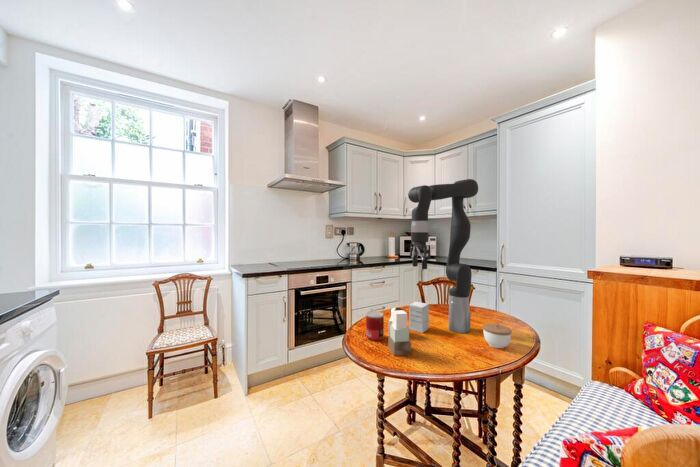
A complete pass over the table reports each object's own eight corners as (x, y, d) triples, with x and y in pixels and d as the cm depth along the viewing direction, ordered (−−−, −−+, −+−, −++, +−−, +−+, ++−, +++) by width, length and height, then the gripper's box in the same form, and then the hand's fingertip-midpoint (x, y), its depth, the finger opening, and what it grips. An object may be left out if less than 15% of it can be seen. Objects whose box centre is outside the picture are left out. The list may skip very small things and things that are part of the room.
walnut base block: (403, 346, 109) (403, 334, 109) (410, 354, 103) (410, 341, 102) (388, 347, 108) (388, 336, 108) (394, 355, 101) (394, 343, 101)
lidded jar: (503, 353, 103) (503, 330, 103) (477, 343, 112) (477, 322, 112) (516, 347, 109) (516, 325, 109) (491, 338, 118) (491, 318, 118)
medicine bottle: (405, 331, 125) (405, 307, 125) (403, 337, 118) (404, 311, 118) (391, 329, 127) (391, 305, 127) (388, 335, 120) (388, 310, 120)
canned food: (382, 341, 113) (383, 317, 113) (365, 340, 115) (365, 315, 115) (384, 335, 121) (384, 311, 121) (367, 333, 122) (367, 310, 122)
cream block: (402, 324, 108) (402, 310, 108) (407, 328, 104) (407, 313, 104) (392, 324, 107) (392, 310, 107) (396, 329, 103) (396, 314, 103)
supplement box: (415, 325, 134) (415, 301, 133) (429, 328, 129) (429, 303, 129) (408, 329, 128) (408, 304, 128) (422, 333, 123) (422, 307, 123)
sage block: (403, 335, 109) (403, 323, 109) (409, 341, 103) (409, 328, 103) (389, 336, 108) (390, 324, 108) (394, 342, 102) (395, 329, 102)
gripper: (436, 231, 107) (435, 269, 108) (419, 231, 121) (419, 265, 122) (419, 231, 106) (419, 270, 106) (404, 231, 120) (404, 265, 120)
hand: (419, 267), depth 114 cm, fingers open, 8 cm apart
